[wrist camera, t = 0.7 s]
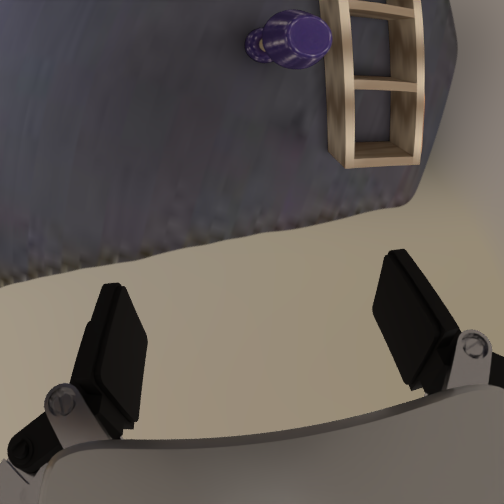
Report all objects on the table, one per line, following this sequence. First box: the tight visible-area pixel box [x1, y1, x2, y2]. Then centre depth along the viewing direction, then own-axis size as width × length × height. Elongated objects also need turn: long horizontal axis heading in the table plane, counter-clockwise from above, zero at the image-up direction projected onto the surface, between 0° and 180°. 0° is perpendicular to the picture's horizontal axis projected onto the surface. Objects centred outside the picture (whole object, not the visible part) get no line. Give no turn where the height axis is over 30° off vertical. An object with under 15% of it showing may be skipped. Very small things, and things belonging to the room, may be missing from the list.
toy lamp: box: [245, 10, 333, 69], centre depth 22 cm, size 5×5×17 cm
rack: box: [319, 0, 425, 169], centre depth 27 cm, size 26×10×6 cm, turn 5°
